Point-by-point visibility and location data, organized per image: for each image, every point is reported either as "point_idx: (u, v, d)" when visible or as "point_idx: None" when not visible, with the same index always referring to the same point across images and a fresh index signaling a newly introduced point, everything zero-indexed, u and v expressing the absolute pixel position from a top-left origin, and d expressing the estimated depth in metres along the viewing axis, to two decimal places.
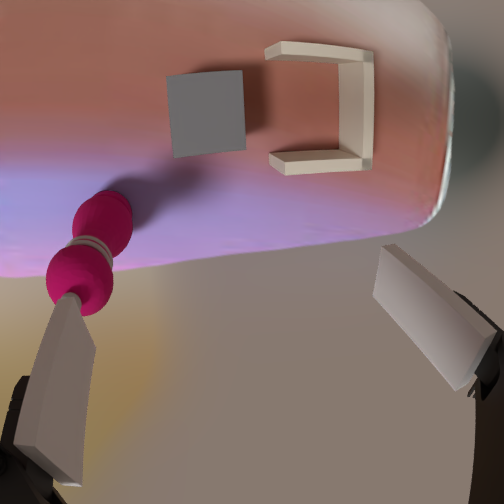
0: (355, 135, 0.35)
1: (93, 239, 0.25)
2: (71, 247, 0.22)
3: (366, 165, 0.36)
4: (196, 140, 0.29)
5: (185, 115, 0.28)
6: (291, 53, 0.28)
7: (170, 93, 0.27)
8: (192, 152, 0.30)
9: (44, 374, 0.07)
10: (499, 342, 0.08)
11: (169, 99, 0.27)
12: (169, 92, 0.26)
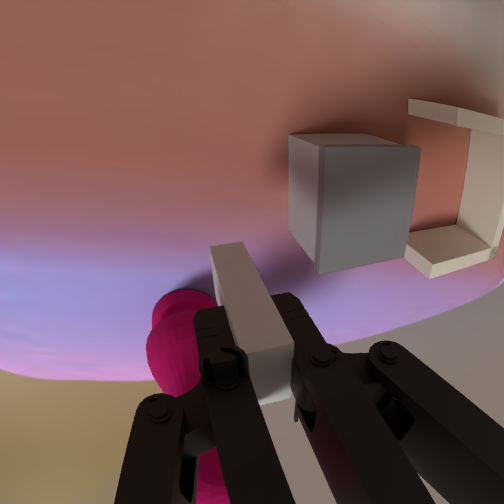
0: (485, 218, 0.26)
1: None
2: (210, 463, 0.13)
3: (492, 254, 0.27)
4: (352, 249, 0.20)
5: (344, 213, 0.19)
6: (464, 126, 0.18)
7: (328, 177, 0.17)
8: (344, 265, 0.21)
9: (240, 297, 0.10)
10: (300, 367, 0.08)
11: (326, 187, 0.18)
12: (327, 175, 0.17)
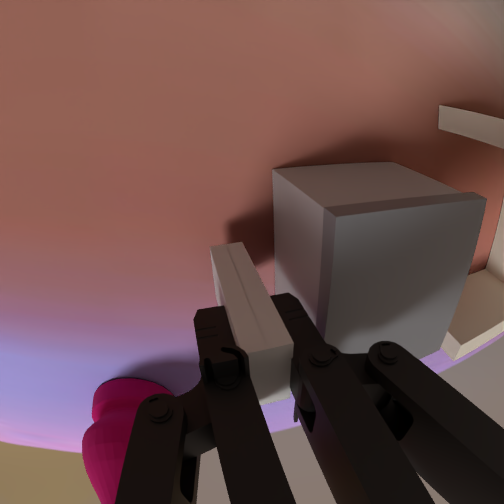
0: None
1: None
2: None
3: None
4: None
5: (363, 320, 0.11)
6: None
7: (340, 270, 0.09)
8: None
9: (241, 297, 0.10)
10: (299, 367, 0.08)
11: (334, 287, 0.10)
12: (338, 268, 0.09)
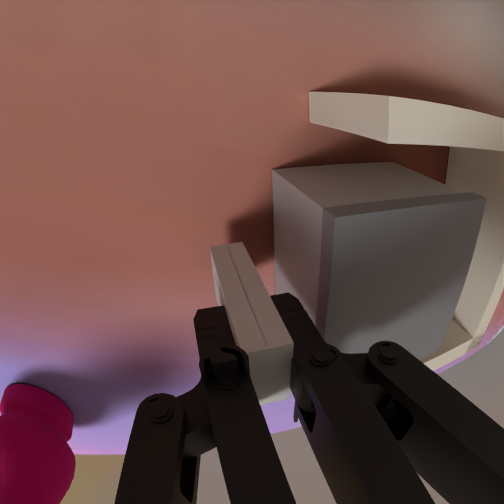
0: (468, 291, 0.16)
1: None
2: None
3: (473, 344, 0.17)
4: None
5: (362, 320, 0.11)
6: (413, 140, 0.09)
7: (339, 270, 0.09)
8: None
9: (241, 297, 0.10)
10: (299, 367, 0.08)
11: (333, 287, 0.10)
12: (337, 268, 0.09)
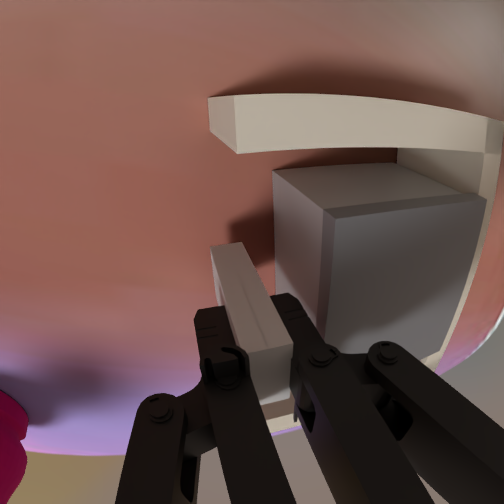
0: None
1: None
2: None
3: None
4: None
5: (363, 321, 0.11)
6: (279, 145, 0.08)
7: (339, 272, 0.09)
8: None
9: (241, 297, 0.10)
10: (299, 367, 0.08)
11: (334, 289, 0.10)
12: (337, 269, 0.09)
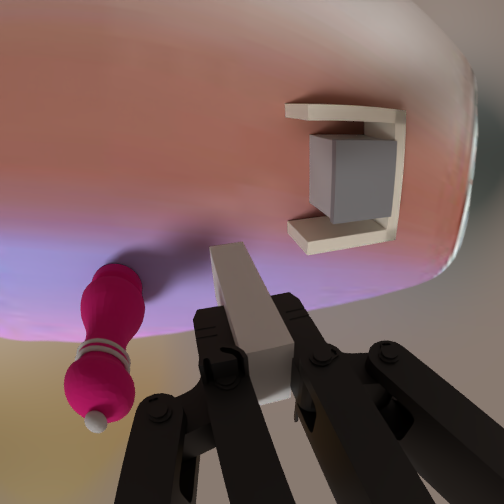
0: None
1: (108, 343, 0.23)
2: (87, 362, 0.20)
3: (390, 236, 0.34)
4: (355, 207, 0.30)
5: (349, 182, 0.29)
6: (319, 119, 0.26)
7: (338, 158, 0.28)
8: (350, 219, 0.31)
9: (240, 297, 0.10)
10: (300, 367, 0.08)
11: (337, 165, 0.28)
12: (337, 157, 0.28)
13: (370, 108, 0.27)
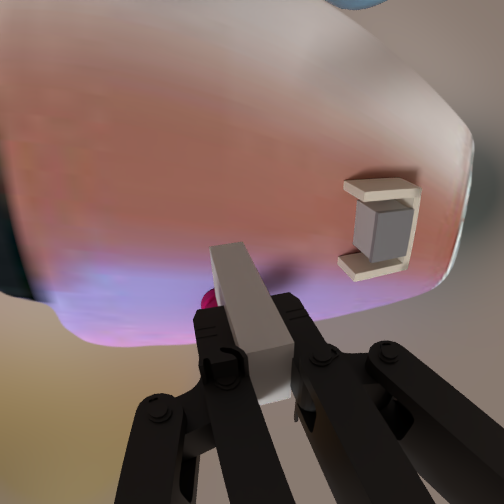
0: None
1: None
2: None
3: (404, 267, 0.50)
4: (385, 252, 0.47)
5: (383, 238, 0.46)
6: (370, 200, 0.42)
7: (378, 224, 0.44)
8: (381, 259, 0.47)
9: (240, 297, 0.10)
10: (300, 367, 0.08)
11: (377, 228, 0.44)
12: (378, 223, 0.44)
13: (400, 190, 0.43)
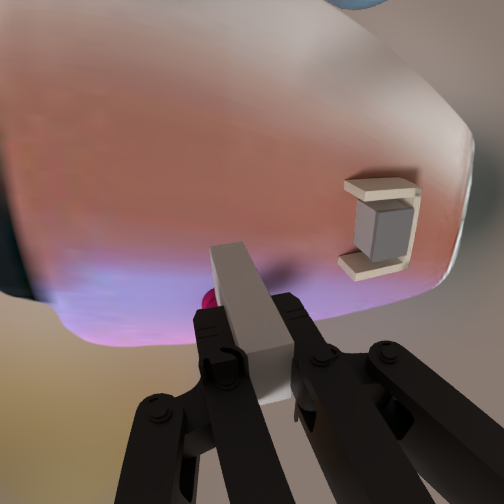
0: None
1: None
2: None
3: (405, 266, 0.50)
4: (385, 251, 0.47)
5: (383, 237, 0.46)
6: (370, 200, 0.42)
7: (379, 223, 0.44)
8: (381, 258, 0.47)
9: (240, 297, 0.10)
10: (300, 367, 0.08)
11: (377, 227, 0.44)
12: (378, 223, 0.44)
13: (400, 189, 0.43)
